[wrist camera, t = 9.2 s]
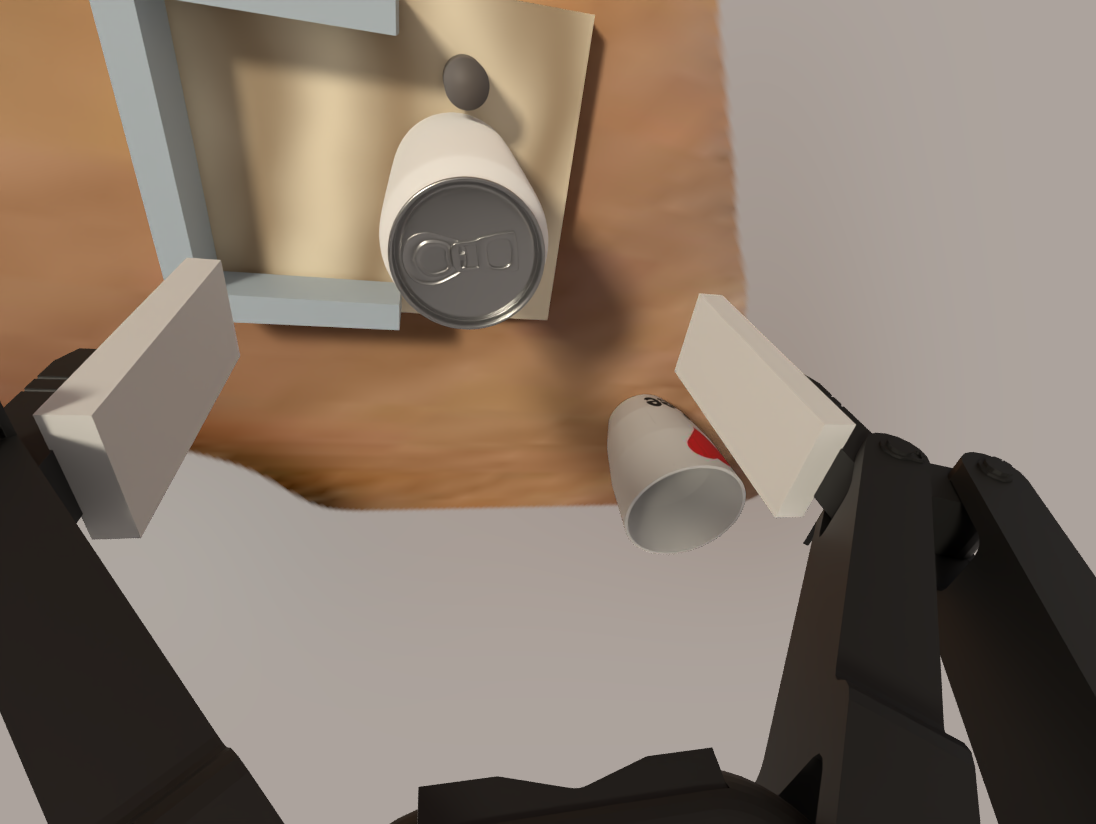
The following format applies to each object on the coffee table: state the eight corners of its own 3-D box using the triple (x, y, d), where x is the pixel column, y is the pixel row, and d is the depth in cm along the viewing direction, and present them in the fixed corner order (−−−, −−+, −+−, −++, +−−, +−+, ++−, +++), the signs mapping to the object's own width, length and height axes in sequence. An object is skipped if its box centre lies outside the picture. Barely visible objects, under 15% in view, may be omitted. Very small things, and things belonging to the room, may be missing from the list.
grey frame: (194, 294, 30) (174, 319, 28) (110, -60, 22) (70, -69, 19) (401, 306, 33) (399, 330, 30) (398, -8, 24) (395, -10, 22)
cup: (702, 428, 45) (760, 517, 37) (615, 474, 46) (653, 570, 38) (665, 358, 40) (723, 444, 32) (570, 413, 42) (603, 507, 34)
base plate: (207, 290, 32) (178, 325, 28) (126, -71, 23) (70, -86, 19) (543, 310, 36) (555, 342, 33) (587, 14, 27) (611, 15, 24)
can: (380, 115, 27) (353, 171, 17) (511, 105, 28) (554, 154, 18) (406, 244, 31) (395, 349, 21) (520, 233, 32) (559, 329, 22)
